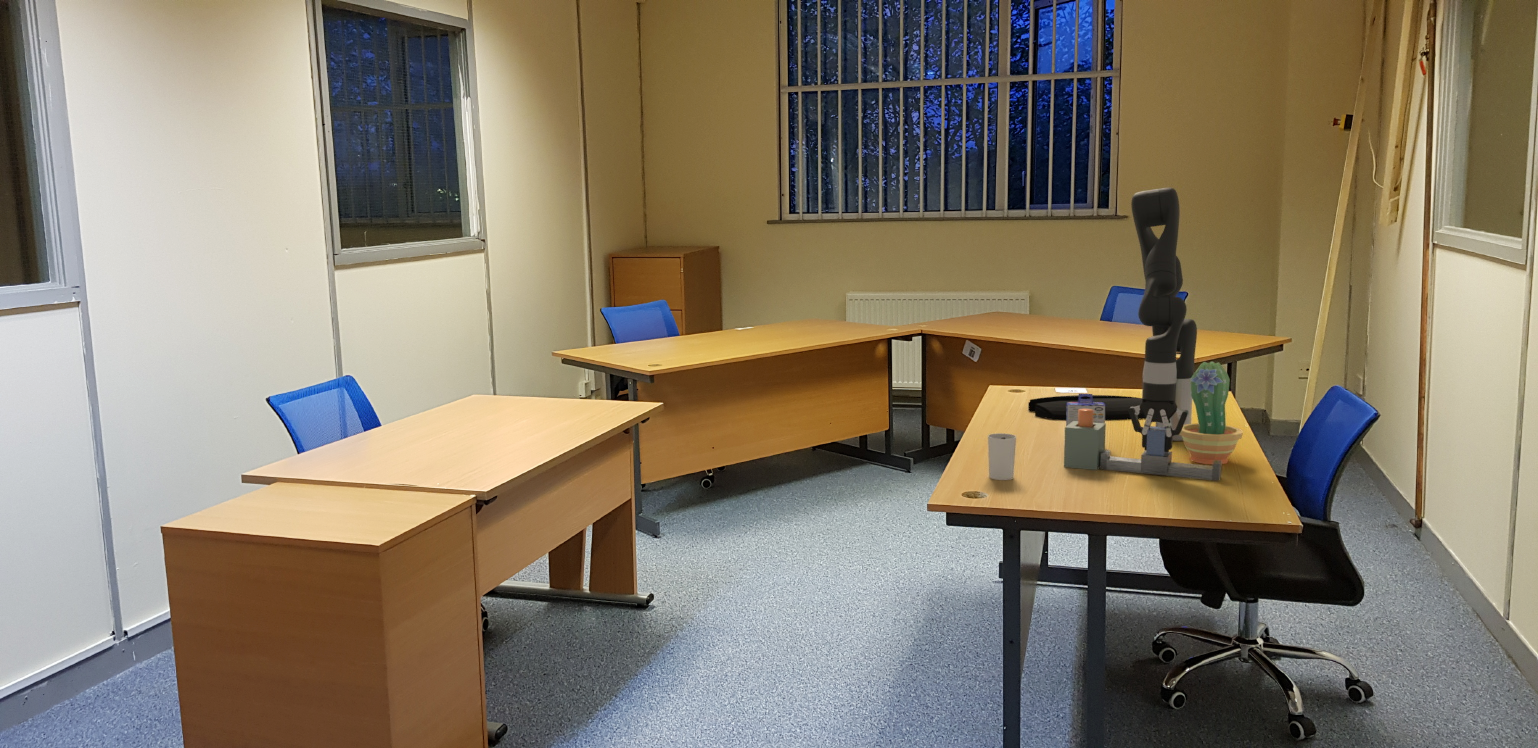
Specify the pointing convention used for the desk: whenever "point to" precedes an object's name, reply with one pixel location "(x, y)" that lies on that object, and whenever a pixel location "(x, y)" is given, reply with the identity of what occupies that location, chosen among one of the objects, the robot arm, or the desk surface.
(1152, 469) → the carriage
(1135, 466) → the rail
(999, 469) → the cream cup
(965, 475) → the desk surface
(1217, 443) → the potted cactus
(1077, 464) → the grey-green socket block
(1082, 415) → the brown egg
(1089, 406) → the ink cartridge box
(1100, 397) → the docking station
